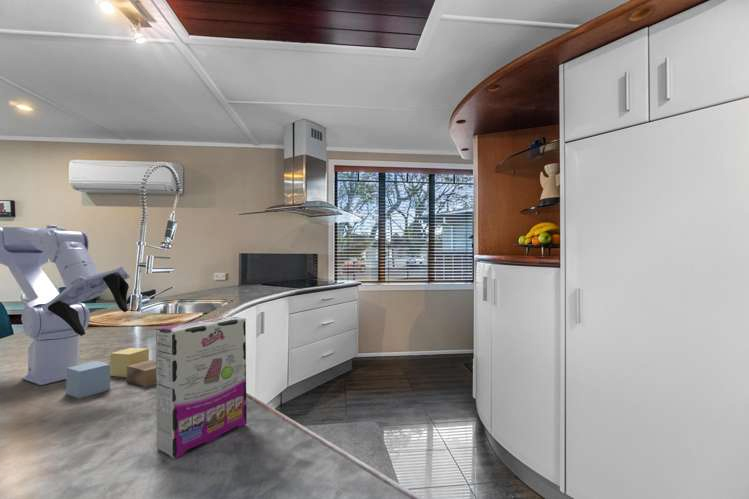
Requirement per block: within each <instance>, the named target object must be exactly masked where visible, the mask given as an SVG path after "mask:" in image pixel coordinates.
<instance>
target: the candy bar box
mask: <svg viewBox="0 0 749 499" xmlns="http://www.w3.org/2000/svg"><path fill="white" fill-rule="evenodd" d="M246 325H247V324H246V318H244V317H237V316H231V315H230V316H229V315H228V316H223V317H222V316H221V317H216V318H211V319H205V320H200V321H193V322H187V323H183V324H176V325H169V326H163V327H159V328H156V330H155V332H156V333H155V339H156V340H155V341H156V342H155V343H156V344H155V345H156V346H155V350H156V352H155V353H156V357H155V359H156V379H157V384H156V398H155V399H156V400H155V401H156V449H157V451H159V452H160V453H162V454H164V455H166V456H168V457H169V458H172V459H173V460H176V459H179V458H180V457H183V456H185V455H187V454H189V453H192V452H194V451H195V450H197V449H199V448H202V447H204V446H206V445H207V444H209V443H212V442H213V441H216V440H218V439H220V438H222V437H223V436H226V435H228V434H230V433H231V432H234V431H235V430H238V429H240V428H242V427H244V426H246V425H247V344H246V342H247V341H246V340H247V337H246V335H247V334H246V333H247V332H246V331H247V330H246V329H247V328H246ZM245 424H246V425H245ZM243 425H244V426H243ZM241 426H242V427H241ZM239 427H240V428H239ZM237 428H238V429H237Z"/></svg>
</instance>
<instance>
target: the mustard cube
mask: <svg viewBox="0 0 749 499" xmlns="http://www.w3.org/2000/svg"><path fill="white" fill-rule="evenodd" d="M149 350H150V349H149V348H142V347H141V348H139V347H129V348H125V349H121V350H117V351H114V352H111V353H110V363H109V364H110V377H111V376H112V377H122V378H127V366H129V365H133V364H137V363H141V362H145V361H149V360H150V359H149V358H150V357H149V356H150V351H149Z"/></svg>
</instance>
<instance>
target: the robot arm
mask: <svg viewBox="0 0 749 499" xmlns="http://www.w3.org/2000/svg"><path fill="white" fill-rule="evenodd" d="M88 250H89V238H88V235H87V234H86V232H84V231H82V230H79V231H73V230H67V229H66V228H65V227H59V226H58V225H56V224H46V227H45V226H44V227H25V226H3V227H1V226H0V264H1V265H3V266H5V267H7V268H8V269H9V271H10V273H11V275H12V276H13V278H14V279H15V281H16V283H17V285H18V286H19V288H20V289H21V290H22V292H23V294H24V296H25V297H26V299H27V300H28V301H29V302H27V303H25V305H24V307H23V309H22V312H21V318H20V319H21V323H22V326H23V332H24V335H26V336H27V337H28V338H30V339H32V340H33V341H31V343H30V344H29V346H28V349H27V350H28V352H27V354H28V355H27V357H28V358H27V374H25V375H22V376H21V379H23V380H26V381H28V382H31V383H32V384H33V383H34V384H36V385H40V386H42V385H43V386H45V385H47V384H52V383H56V382H59V381H63V380H66V377H67V368H68V367H73V366H77V365H79V361H80V360H79V359H80V358H79V356H80V355H79V354H80V353H79V350H80V337H83V336H84V335H86V331H85V330H86V329H87V328H88V326H89V324H90V320H91V314H90V309H89V307H88V306H87V305H86V304H85V303H83V302H87V301H89V300H92V299H95V298H97V297H98V296H100V295H103V293H104V292H105V291H106V290H108V289H109V291H110V292H111V294H112V296H113V299H114V302H115V304H116V305H117V307H118V309H119V310H120V311H122V312H123V313H126V312H128V310H129V308H128V304H127V303H128V302H127V296H128V292H129V288H130V286H129V283H128V282H127V281H126V280H127V279H129V278H131V276H130V274H129V272H128V271H127V270H126V268H125V267H124V266H120V267H118V268H115V269H112V270H108V271H104V272H101V273H99V270H98V268H97V267H96V265H95V263H94V261H93V259H92V257H91V255H90V253H89V251H88ZM49 262H50V263H53V264H55V266H56V268H57V271H58V273H59V275H60V278H61V279H62V281H63V284H64V286H65V288H64V289H63V290H62V291H61V292H59V291H58V289H57V287H55V285H54V284H53V282H52V281H51V280H50V278H49V277H48V276H47V273H45V271H44V269H42V268H41V266H43V265H46V264H48V263H49Z"/></svg>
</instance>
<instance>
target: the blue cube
mask: <svg viewBox="0 0 749 499" xmlns="http://www.w3.org/2000/svg"><path fill="white" fill-rule="evenodd" d="M65 380H66V382H65V383H66V384H65V387H66V390H65V394H66V395H68V396H71V397H74V398H77V399H82V398H86V397H89V396H93V395H95V394H99V393H103V392H106V391H109V390H111V376H110V363H106V362H102V361H98V360H96V361H91V362H87V363H83V364H78V365H77V366H73V367H68V368H67V377H66V379H65Z"/></svg>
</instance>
